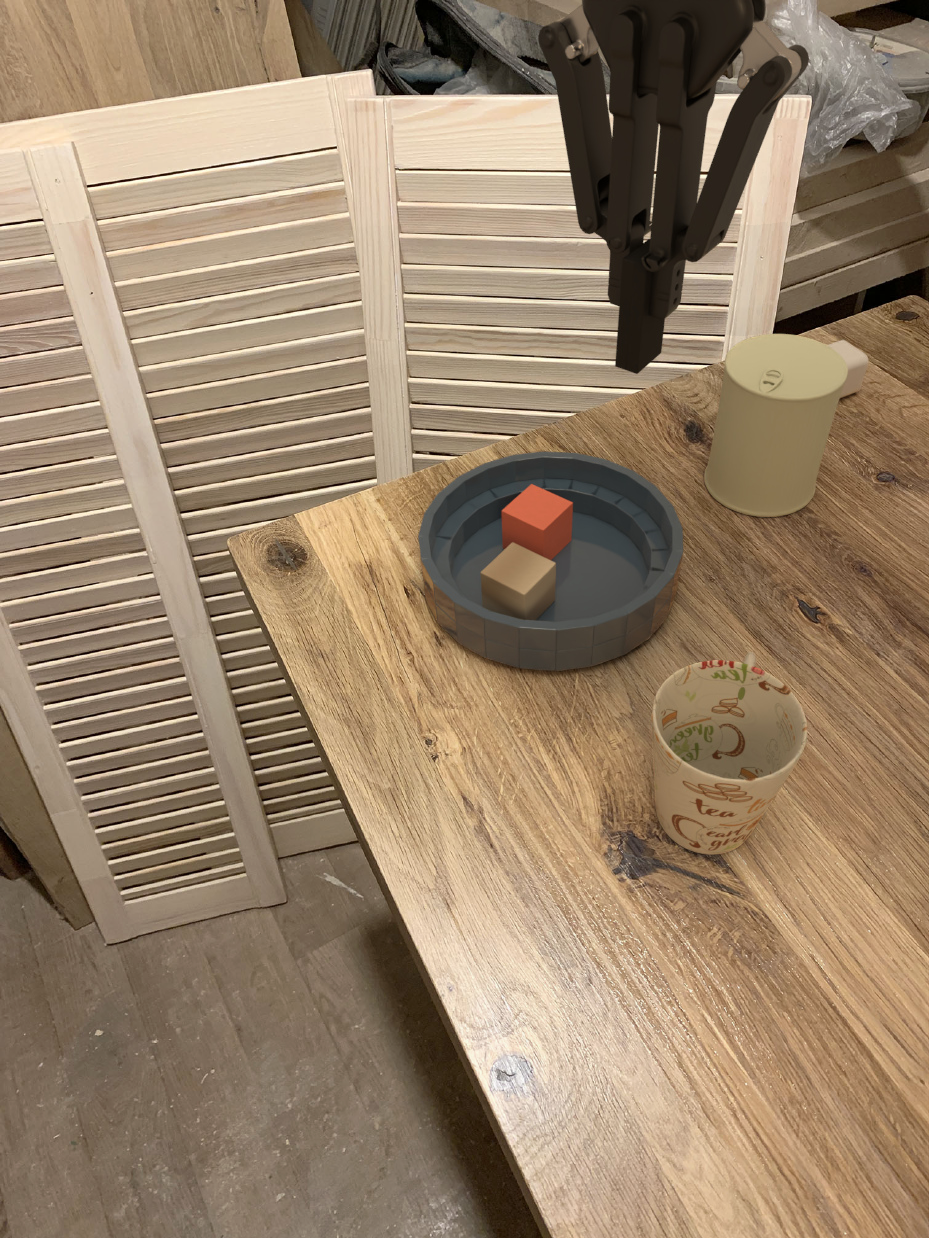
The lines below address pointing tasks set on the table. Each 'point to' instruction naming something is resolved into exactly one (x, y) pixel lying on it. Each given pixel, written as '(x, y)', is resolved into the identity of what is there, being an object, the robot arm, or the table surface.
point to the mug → (722, 751)
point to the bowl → (585, 568)
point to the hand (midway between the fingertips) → (638, 359)
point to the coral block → (538, 522)
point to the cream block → (518, 583)
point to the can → (773, 423)
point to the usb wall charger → (851, 366)
